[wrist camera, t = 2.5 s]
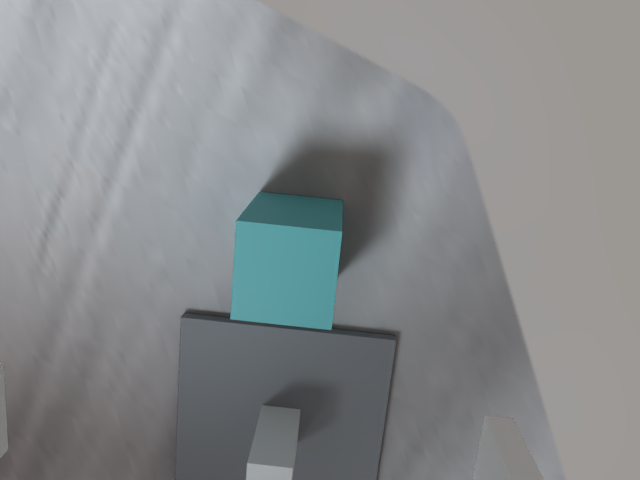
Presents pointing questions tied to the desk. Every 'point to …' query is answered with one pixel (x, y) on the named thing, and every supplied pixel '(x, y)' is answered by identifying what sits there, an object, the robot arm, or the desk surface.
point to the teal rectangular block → (287, 260)
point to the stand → (279, 401)
